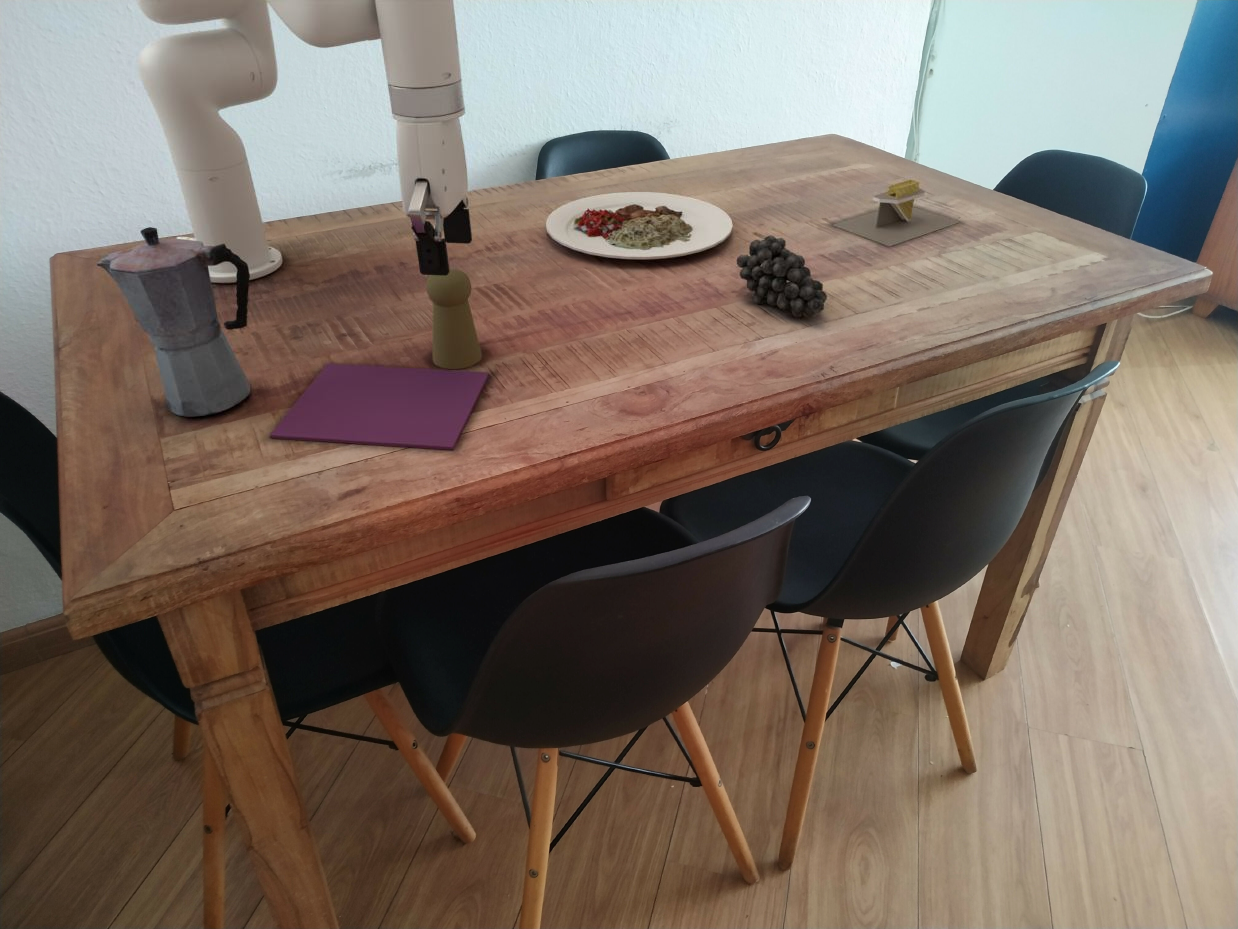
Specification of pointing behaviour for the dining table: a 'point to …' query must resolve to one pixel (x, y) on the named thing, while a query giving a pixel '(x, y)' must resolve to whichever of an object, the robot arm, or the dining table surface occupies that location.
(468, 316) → the pepper mill
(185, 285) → the moka pot
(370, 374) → the placemat
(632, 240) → the plated food
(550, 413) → the dining table surface
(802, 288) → the fruit
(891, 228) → the platform
